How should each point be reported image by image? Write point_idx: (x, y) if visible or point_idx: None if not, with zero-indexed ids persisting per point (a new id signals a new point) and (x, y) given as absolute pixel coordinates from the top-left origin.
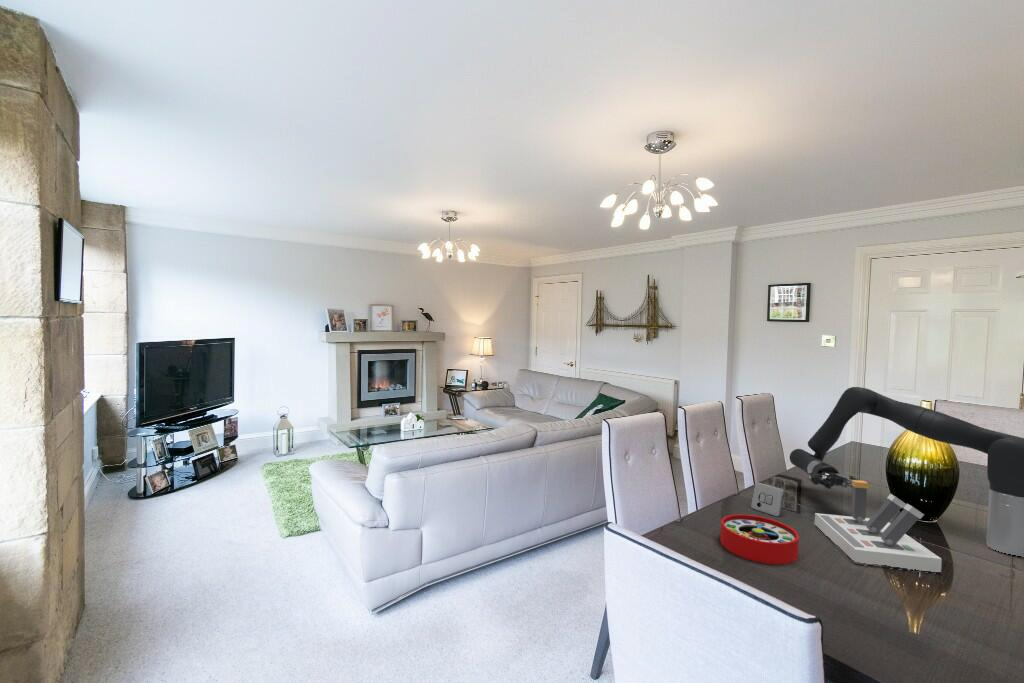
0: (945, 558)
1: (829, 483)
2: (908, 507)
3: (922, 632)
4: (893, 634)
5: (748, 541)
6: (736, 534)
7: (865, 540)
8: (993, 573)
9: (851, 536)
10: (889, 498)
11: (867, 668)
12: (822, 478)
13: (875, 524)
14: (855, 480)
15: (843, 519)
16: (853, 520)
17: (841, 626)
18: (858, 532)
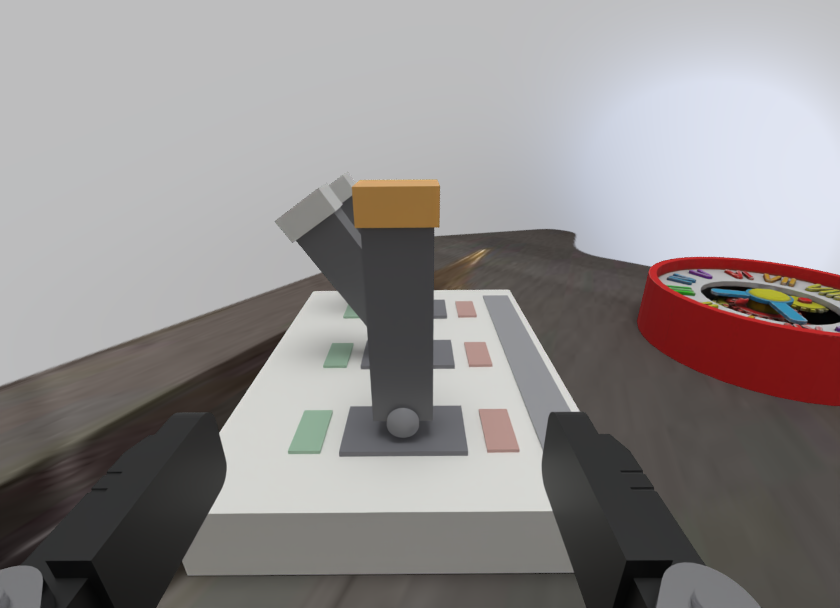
0: (197, 385)
1: (568, 414)
2: (351, 181)
3: (475, 250)
4: (510, 246)
5: (751, 265)
6: (793, 266)
7: (459, 320)
8: (159, 347)
9: (496, 325)
10: (336, 204)
11: (548, 230)
12: (713, 591)
13: None
14: (416, 185)
15: (467, 453)
16: (420, 436)
17: (563, 246)
18: (455, 354)
